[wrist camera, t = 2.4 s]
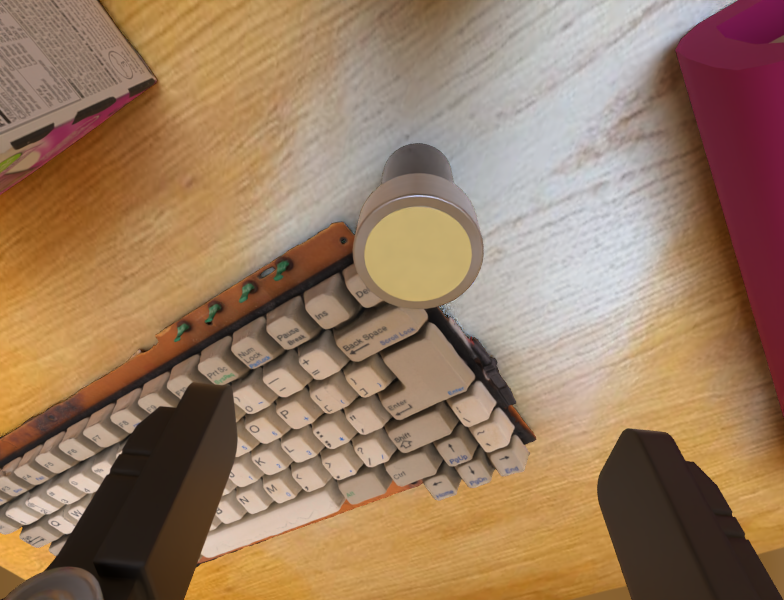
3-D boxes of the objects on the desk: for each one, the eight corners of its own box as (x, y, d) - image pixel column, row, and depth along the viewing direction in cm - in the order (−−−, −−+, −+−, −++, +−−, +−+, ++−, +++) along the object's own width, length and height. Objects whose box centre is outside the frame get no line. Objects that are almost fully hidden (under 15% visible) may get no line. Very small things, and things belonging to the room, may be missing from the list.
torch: (354, 196, 24) (331, 280, 17) (396, 110, 21) (388, 171, 15) (435, 235, 24) (441, 328, 18) (483, 157, 22) (510, 232, 16)
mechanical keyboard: (157, 580, 45) (140, 621, 42) (-43, 462, 36) (-82, 503, 34) (546, 425, 32) (559, 469, 29) (373, 187, 24) (367, 216, 21)
